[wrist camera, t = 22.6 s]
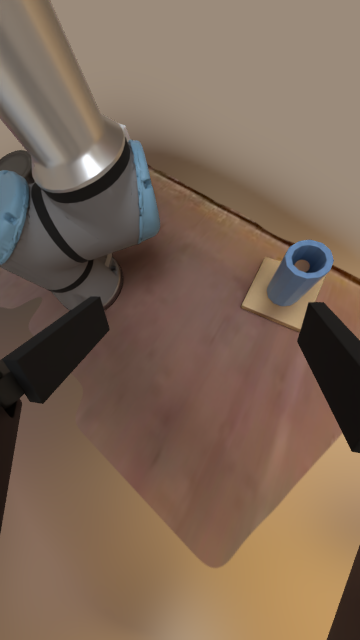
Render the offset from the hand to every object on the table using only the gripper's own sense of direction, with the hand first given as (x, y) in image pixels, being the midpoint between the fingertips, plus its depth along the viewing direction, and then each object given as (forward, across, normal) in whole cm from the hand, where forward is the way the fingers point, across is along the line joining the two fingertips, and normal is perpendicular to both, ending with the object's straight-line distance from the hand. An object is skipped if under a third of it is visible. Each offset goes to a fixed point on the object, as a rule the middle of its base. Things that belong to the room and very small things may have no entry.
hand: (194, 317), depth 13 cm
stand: (+27, +13, -10) cm, 31 cm away
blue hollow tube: (+26, +13, -9) cm, 30 cm away
